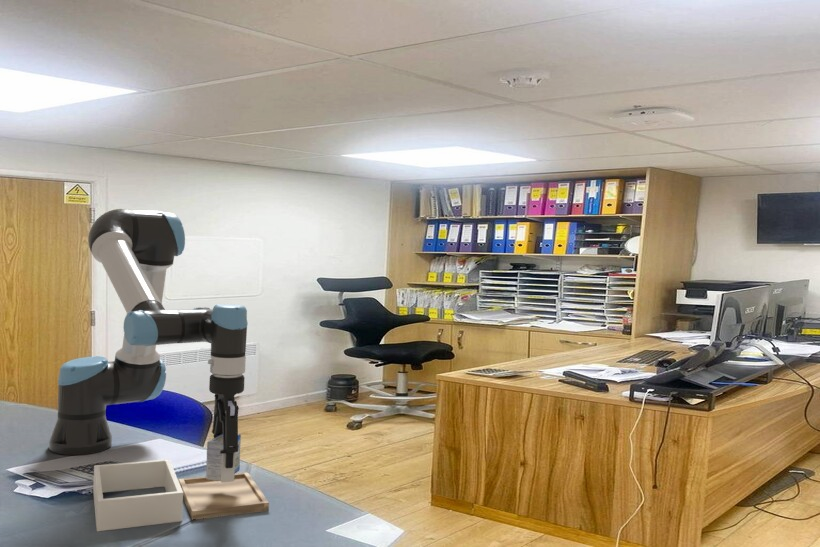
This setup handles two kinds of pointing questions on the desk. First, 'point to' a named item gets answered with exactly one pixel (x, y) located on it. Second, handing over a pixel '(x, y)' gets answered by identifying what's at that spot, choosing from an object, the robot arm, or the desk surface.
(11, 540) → the desk surface
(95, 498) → the deep bin
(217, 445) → the medicine box
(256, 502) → the oak tray
